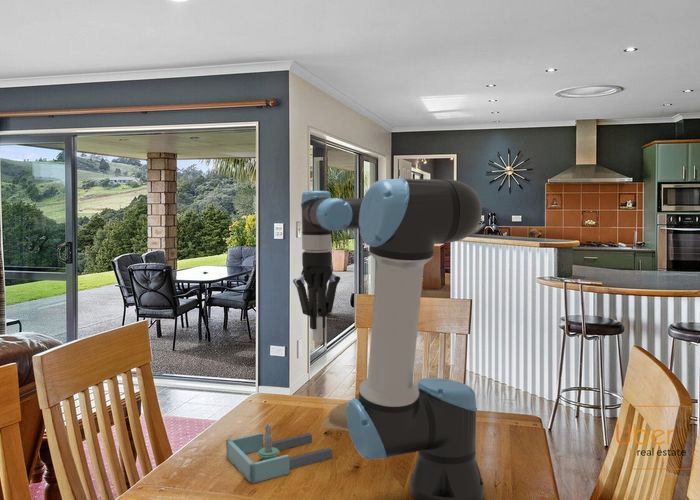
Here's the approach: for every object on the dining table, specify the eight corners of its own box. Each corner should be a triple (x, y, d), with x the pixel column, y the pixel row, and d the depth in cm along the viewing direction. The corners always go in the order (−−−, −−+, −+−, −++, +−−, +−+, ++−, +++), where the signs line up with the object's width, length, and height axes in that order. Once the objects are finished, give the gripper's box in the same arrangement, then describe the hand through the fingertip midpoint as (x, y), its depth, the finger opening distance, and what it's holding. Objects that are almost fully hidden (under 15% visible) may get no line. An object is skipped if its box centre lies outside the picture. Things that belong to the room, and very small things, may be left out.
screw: (283, 460, 136) (268, 468, 133) (268, 454, 140) (253, 462, 136) (283, 422, 136) (267, 429, 132) (268, 418, 139) (252, 424, 135)
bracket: (289, 473, 130) (289, 456, 129) (251, 483, 125) (250, 465, 125) (262, 448, 143) (261, 432, 143) (226, 456, 139) (226, 440, 138)
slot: (332, 457, 138) (332, 449, 137) (285, 470, 131) (285, 461, 131) (309, 440, 148) (309, 432, 148) (265, 451, 142) (265, 443, 142)
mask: (324, 391, 168) (429, 396, 163) (325, 414, 168) (429, 420, 163) (312, 407, 153) (427, 413, 148) (313, 433, 154) (427, 440, 149)
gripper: (331, 248, 157) (331, 334, 159) (287, 251, 150) (288, 341, 152) (346, 250, 150) (346, 340, 152) (300, 253, 143) (302, 347, 145)
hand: (317, 340), depth 152 cm, fingers closed
